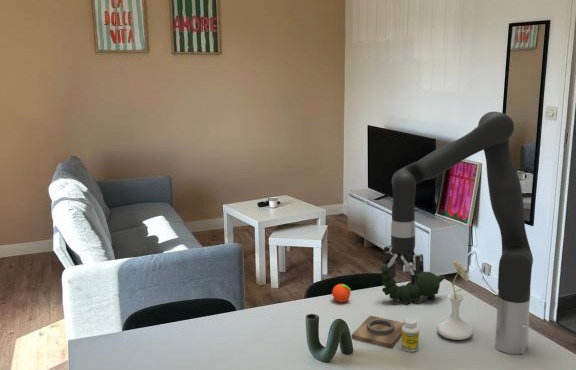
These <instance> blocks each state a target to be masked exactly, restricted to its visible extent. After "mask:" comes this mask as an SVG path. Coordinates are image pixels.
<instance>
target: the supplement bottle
mask: <svg viewBox="0 0 576 370" xmlns="http://www.w3.org/2000/svg"><path fill="white" fill-rule="evenodd" d="M403 323H404V325H403V326H402V336H401V348H402V349H403V350H404V351H406V352H411V353H412V352H413V353H414V352H417V350H419V346H420V343H419V342H420V340H419V338H420V328H419V326H418V321H417V319H416V318H415V317H414V318H412V317H407V318H404V320H403Z"/></svg>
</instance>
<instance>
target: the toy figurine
mask: <svg viewBox="0 0 576 370" xmlns="http://www.w3.org/2000/svg"><path fill="white" fill-rule="evenodd" d="M397 264H398V263H396V264H395V265H394V266H395V267H396V265H397ZM380 270H381V273H380V275H381V277H382V280H380V282H381V284H383V286H384V287H383V288H382V290H381V291H382V292H383V293H384V295H386V296H388V295H389V299H392V300H391V301H392V302H393V303H398V302H399V301H400V302H403V304H404V305H405V306H407V305H409V303H410V300H413V301H414V302H415V303H416V304H417V303H420V302H421V301H422V299H421V297H425V298H426V299H427V300H429V301H433V300H435V299H436V295H437V294H439V291H440V290H439V289H440V285H441V284H440V283H441V282H443V281H444V280H445V279H446V278H447V276H446V275H436V274H434V273H433V272H431V271H424V272H423V273H420V274H418V283H417V284H416V285H414V286H412V285H411V281H409V282H407V283H406V285H405V284H403V285H400V286H399V285H397V284H396V283H395V282H396V281H395V278H392V279H391V278H389V267H388V266H387V265H386V264H384V265H383V266H381V267H380Z"/></svg>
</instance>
